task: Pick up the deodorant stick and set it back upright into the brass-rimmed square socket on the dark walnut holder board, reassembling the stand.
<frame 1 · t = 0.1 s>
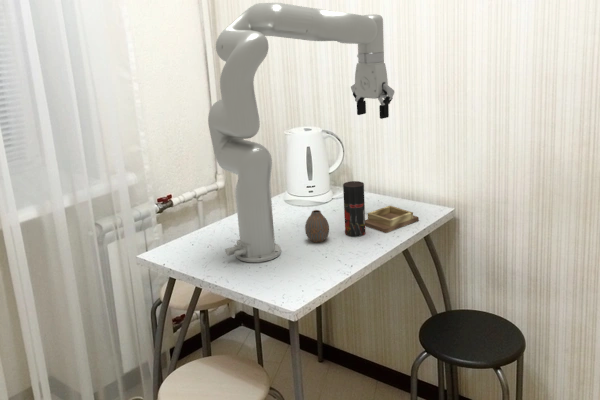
hand: (372, 116, 199), 31 cm above the table, fingers open, 9 cm apart
vase: (317, 240, 190), on the table
deodorant: (355, 233, 193), on the table
holder board: (390, 222, 200), on the table
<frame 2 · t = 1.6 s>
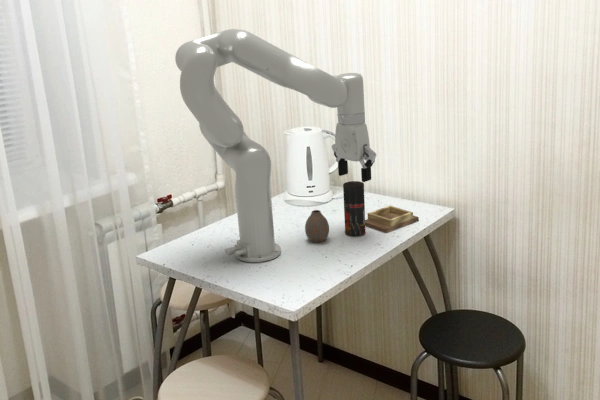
hand: (354, 177, 188), 17 cm above the table, fingers open, 9 cm apart
nothing on the table moved.
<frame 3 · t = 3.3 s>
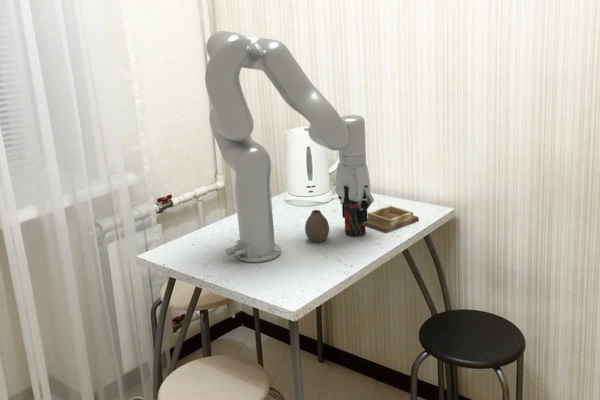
hand: (354, 218, 192), 4 cm above the table, fingers closed on deodorant, 5 cm apart
deodorant: (355, 233, 193), on the table, touching gripper
everything else where it was.
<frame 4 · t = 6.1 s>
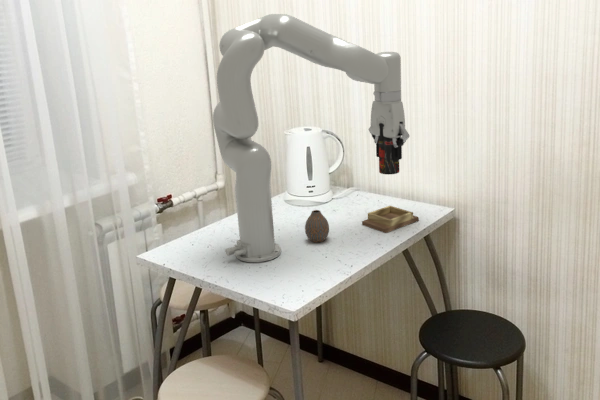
hand: (388, 157, 193), 20 cm above the table, fingers closed on deodorant, 5 cm apart
deodorant: (389, 172, 195), point 16 cm above the table, touching gripper
everything else where it was.
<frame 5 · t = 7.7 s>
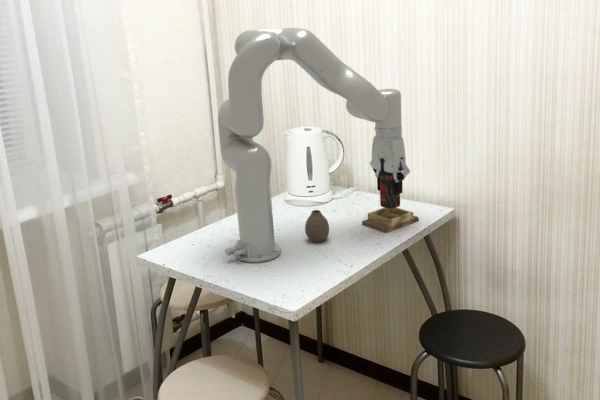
hand: (389, 191, 196), 10 cm above the table, fingers closed on deodorant, 5 cm apart
deodorant: (390, 205, 198), point 6 cm above the table, touching gripper
everything else where it was.
when the fingers open (7 cm above the table, at t = 8.9 s): deodorant drops 1 cm, resting on holder board.
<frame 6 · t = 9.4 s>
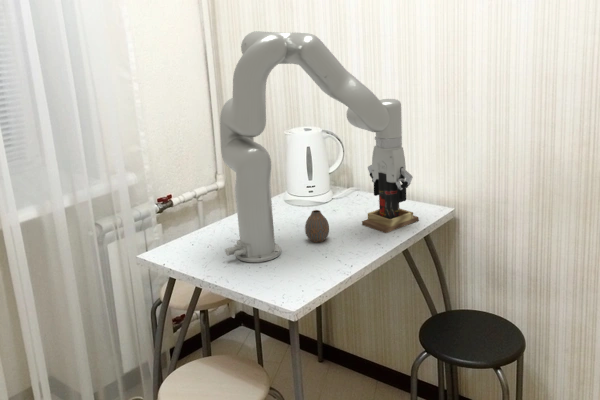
hand: (389, 198, 197), 8 cm above the table, fingers open, 9 cm apart
deodorant: (389, 219, 199), point 1 cm above the table, touching holder board
everything else where it was.
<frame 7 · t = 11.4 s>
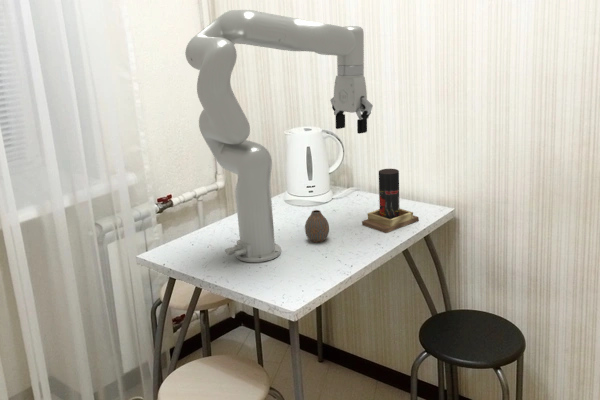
hand: (351, 130, 193), 29 cm above the table, fingers open, 9 cm apart
nothing on the table moved.
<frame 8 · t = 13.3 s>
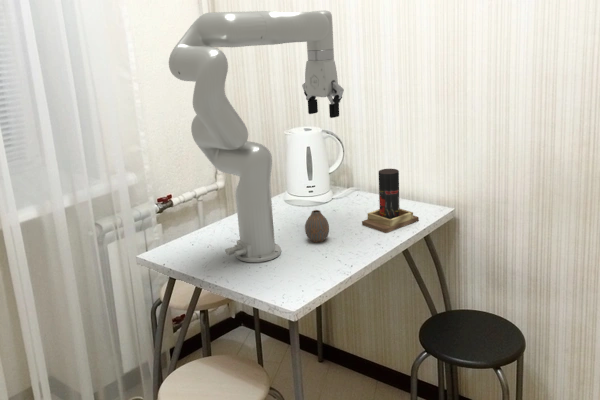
hand: (323, 115, 193), 33 cm above the table, fingers open, 9 cm apart
nothing on the table moved.
at the end: deodorant 0.2 cm from the holder board (horizontally); deodorant tilted 0°; the gripper is holding nothing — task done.
